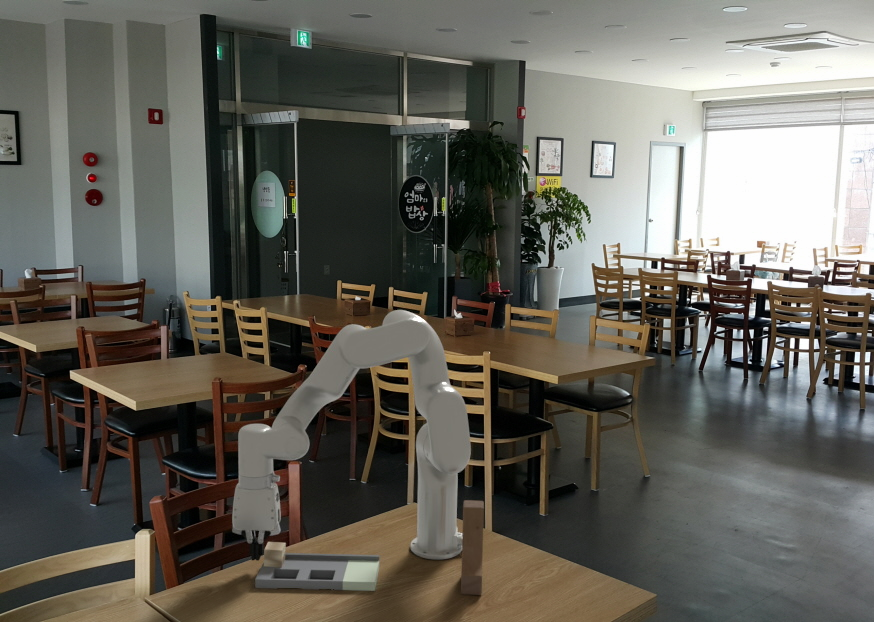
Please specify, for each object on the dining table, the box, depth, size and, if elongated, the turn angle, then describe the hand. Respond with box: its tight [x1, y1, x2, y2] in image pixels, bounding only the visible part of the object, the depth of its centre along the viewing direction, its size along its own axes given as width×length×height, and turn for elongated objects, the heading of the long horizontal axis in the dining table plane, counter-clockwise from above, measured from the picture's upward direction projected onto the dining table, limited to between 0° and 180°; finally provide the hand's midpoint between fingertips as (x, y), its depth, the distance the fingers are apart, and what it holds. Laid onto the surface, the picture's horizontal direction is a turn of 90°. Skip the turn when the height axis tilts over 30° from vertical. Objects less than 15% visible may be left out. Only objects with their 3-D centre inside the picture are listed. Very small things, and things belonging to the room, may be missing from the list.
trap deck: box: [254, 552, 380, 592], centre depth 178 cm, size 26×11×3 cm, turn 89°
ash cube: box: [263, 541, 287, 567], centre depth 180 cm, size 4×4×4 cm
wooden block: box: [460, 499, 485, 596], centre depth 175 cm, size 9×4×18 cm, turn 177°
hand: (256, 557), depth 180 cm, fingers closed
